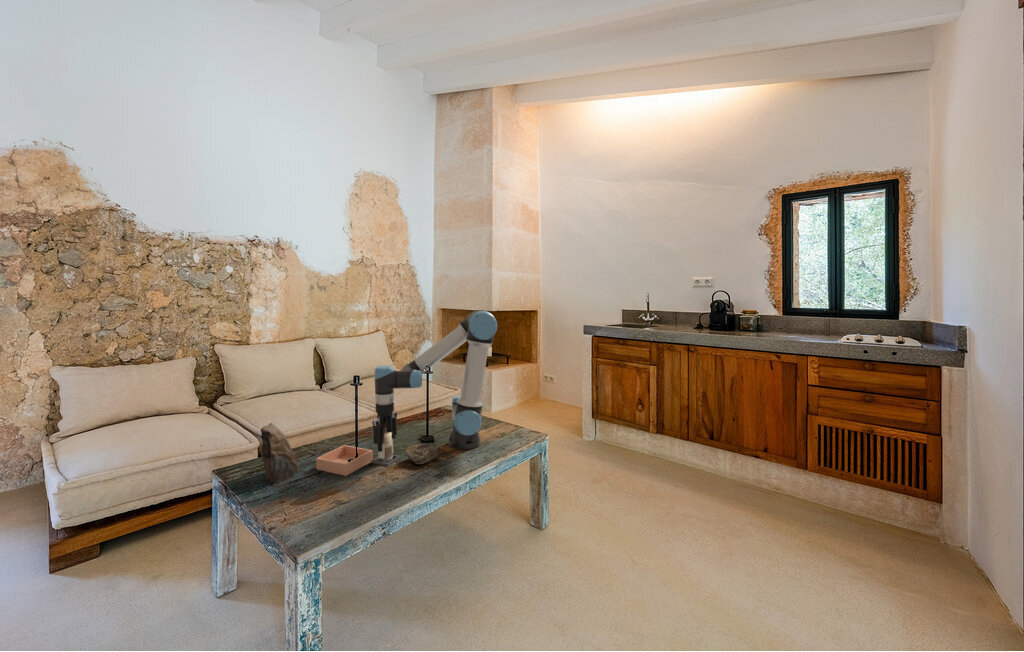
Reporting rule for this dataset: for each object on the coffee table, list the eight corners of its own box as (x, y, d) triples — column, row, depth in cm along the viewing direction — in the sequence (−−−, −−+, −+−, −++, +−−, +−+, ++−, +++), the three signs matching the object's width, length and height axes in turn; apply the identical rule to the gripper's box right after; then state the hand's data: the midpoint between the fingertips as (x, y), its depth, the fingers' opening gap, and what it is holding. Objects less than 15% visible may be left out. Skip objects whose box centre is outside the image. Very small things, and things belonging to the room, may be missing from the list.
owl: (273, 485, 157) (271, 434, 155) (249, 480, 161) (246, 429, 159) (301, 471, 169) (299, 423, 167) (277, 466, 173) (275, 419, 171)
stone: (410, 462, 170) (408, 439, 176) (404, 471, 177) (402, 449, 183) (442, 459, 176) (438, 437, 182) (435, 468, 183) (432, 446, 189)
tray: (372, 460, 179) (372, 450, 179) (346, 475, 165) (345, 464, 165) (344, 454, 185) (344, 444, 185) (316, 469, 171) (315, 458, 170)
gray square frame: (400, 458, 182) (400, 456, 182) (387, 466, 174) (387, 463, 174) (384, 455, 185) (384, 453, 185) (371, 462, 177) (371, 460, 177)
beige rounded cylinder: (395, 459, 181) (395, 432, 180) (387, 464, 176) (386, 436, 175) (385, 457, 183) (384, 430, 182) (376, 462, 178) (375, 434, 177)
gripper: (391, 396, 187) (392, 446, 189) (362, 407, 170) (364, 462, 172) (405, 398, 184) (406, 449, 186) (377, 409, 167) (379, 465, 170)
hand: (386, 455), depth 179 cm, fingers closed on beige rounded cylinder, 5 cm apart
